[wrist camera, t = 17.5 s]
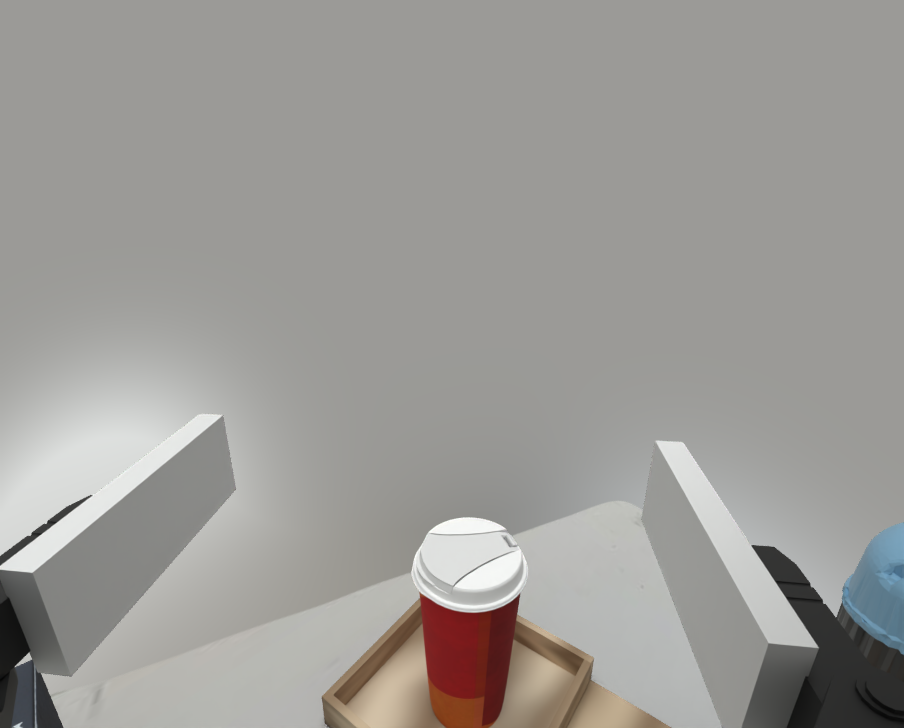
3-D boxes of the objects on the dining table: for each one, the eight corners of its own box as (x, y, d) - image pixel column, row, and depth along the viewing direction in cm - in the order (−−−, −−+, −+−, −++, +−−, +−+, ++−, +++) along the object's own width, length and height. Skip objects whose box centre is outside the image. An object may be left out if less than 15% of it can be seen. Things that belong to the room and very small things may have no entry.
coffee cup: (491, 640, 45) (498, 503, 40) (536, 728, 38) (551, 576, 33) (403, 668, 42) (397, 526, 37) (432, 770, 35) (431, 611, 30)
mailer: (690, 743, 38) (698, 716, 36) (624, 1000, 26) (632, 972, 25) (444, 596, 50) (444, 573, 49) (324, 722, 39) (321, 696, 38)
